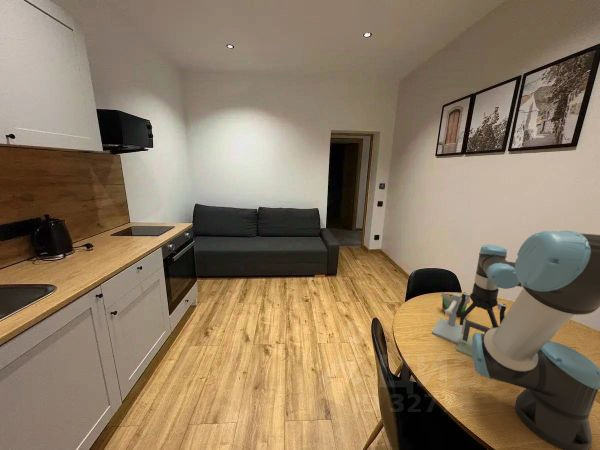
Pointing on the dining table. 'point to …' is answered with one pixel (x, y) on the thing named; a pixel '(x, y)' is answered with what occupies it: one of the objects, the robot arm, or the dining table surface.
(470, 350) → the mat
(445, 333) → the stand
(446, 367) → the dining table surface
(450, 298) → the food container
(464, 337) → the link
